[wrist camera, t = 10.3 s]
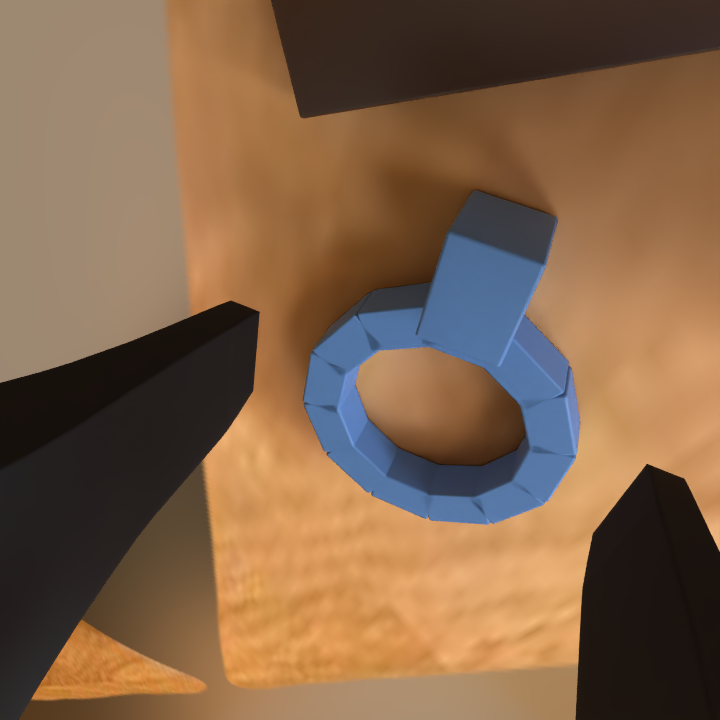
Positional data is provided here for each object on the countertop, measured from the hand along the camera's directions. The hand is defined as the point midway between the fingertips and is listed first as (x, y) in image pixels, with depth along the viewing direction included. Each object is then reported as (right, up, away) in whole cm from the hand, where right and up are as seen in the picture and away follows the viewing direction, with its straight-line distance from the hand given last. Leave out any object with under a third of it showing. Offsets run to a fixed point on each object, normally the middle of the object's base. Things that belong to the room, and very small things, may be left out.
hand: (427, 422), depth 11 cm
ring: (+2, +1, +9) cm, 9 cm away
